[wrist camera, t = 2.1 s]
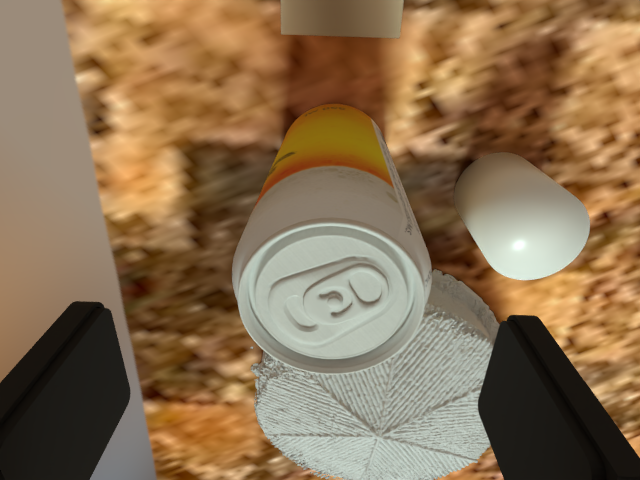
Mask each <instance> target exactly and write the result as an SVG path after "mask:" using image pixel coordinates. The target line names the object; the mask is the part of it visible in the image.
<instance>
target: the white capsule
mask: <svg viewBox="0 0 640 480" xmlns="http://www.w3.org/2000/svg"><path fill="white" fill-rule="evenodd" d="M454 205H455V208H456V210H457V212H458V214H459V216H460V217H461V219H462V220H463V222H464V224H465V225H466V227H467V229H468V230H469V232H470V233H471V235H472V237H473V238H474V240H475V242H476V243H477V245H478V246H479V248H480V250H481V251H482V253H483V254H484V256H485V258H486V259H487V261H488V263H489V264H490V265H491V266H492V267H493V268H494V269H495V270H496V271H497V272H499V273H500V274H502V275H504V276H506V277H509V278H513V279H518V280H533V279H539V278H543V277H546V276H549V275H551V274H554V273H556V272H558V271H559V270H561V269H563V268H564V267H566V266H567V265H568V264H570V263H571V262H572V261H573V260H574V259H575V258H576V257H577V256H578V254H579V253H580V252H581V250H582V249H583V247H584V245H585V243H586V241H587V239H588V235H589V230H590V220H589V215H588V212H587V210H586V208H585V206H584V205H583V204H582V203H581V201H580V200H578V199H577V198H576V197H575V196H573V195H572V194H571V193H570V192H568V191H567V190H566V189H564V188H563V187H562V186H560V185H559V184H558V183H556V182H555V181H554V180H552V179H551V178H550V177H548V176H547V175H546V174H544V173H543V172H542V171H540V170H539V169H538V168H536V167H535V166H534V165H532V164H531V163H530V162H528V161H527V160H526V159H524V158H523V157H521V156H519V155H517V154H513V153H508V152H498V153H492V154H488V155H486V156H483V157H481V158H479V159H477V160H476V161H474V162H473V163H471V164H470V165H469V166H468V167H467V168H466V169H465V170H464V171H463V173H462V174H461V175H460V177H459V179H458V181H457V183H456V186H455V189H454Z"/></svg>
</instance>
